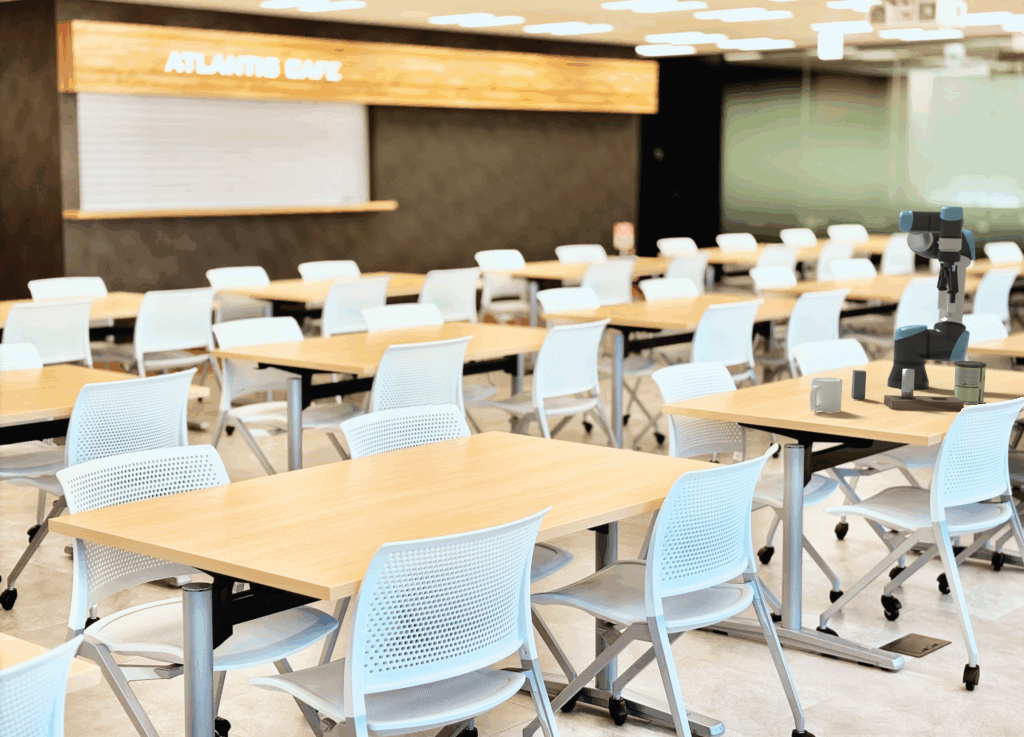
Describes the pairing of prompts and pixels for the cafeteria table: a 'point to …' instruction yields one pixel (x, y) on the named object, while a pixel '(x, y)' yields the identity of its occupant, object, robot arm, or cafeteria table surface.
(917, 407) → the socket block
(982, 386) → the coffee can
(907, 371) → the grey cylinder
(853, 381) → the square bit
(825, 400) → the mug
